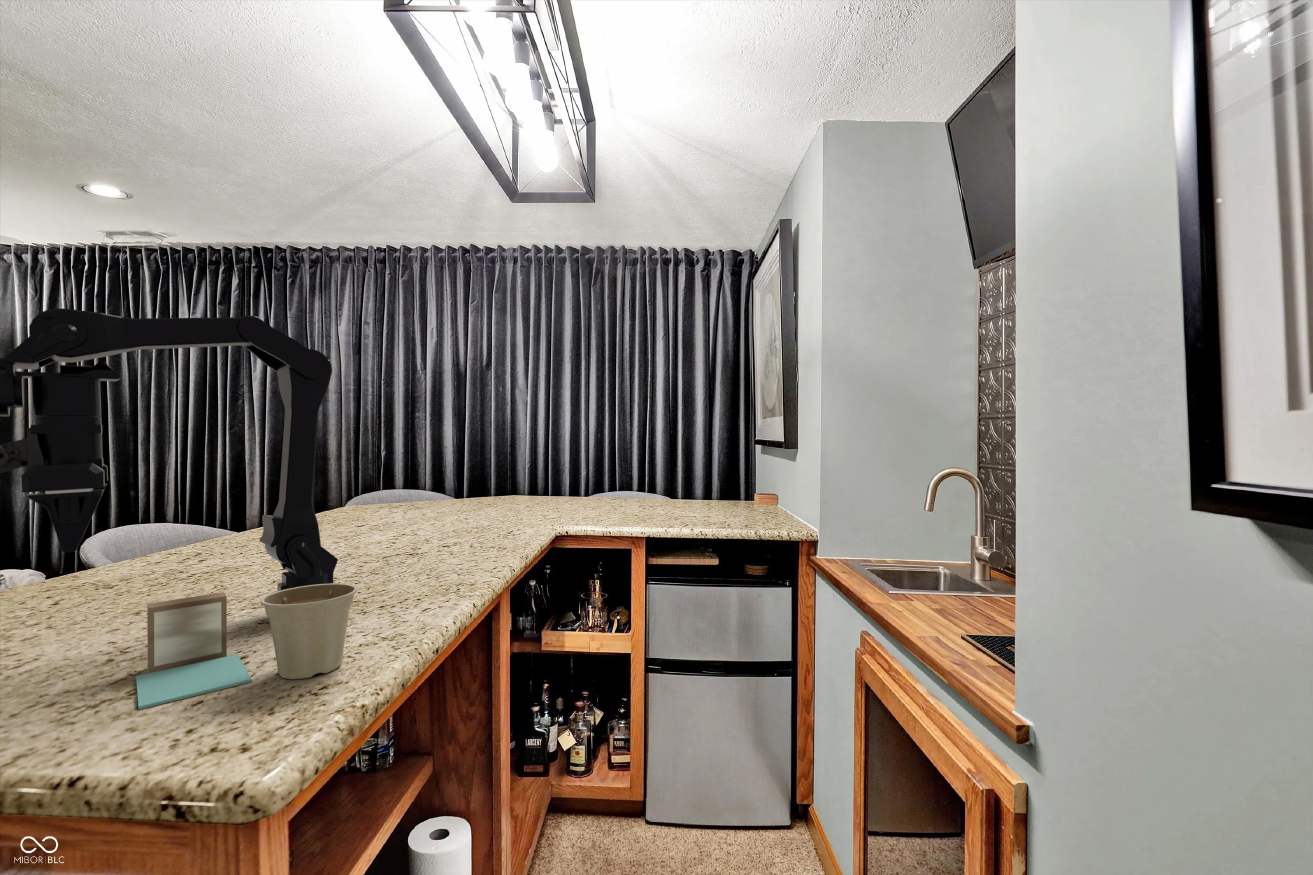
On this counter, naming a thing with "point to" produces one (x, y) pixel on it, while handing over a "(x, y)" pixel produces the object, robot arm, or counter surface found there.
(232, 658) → the teal mat
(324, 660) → the flower pot
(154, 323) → the robot arm
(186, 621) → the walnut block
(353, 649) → the counter surface
